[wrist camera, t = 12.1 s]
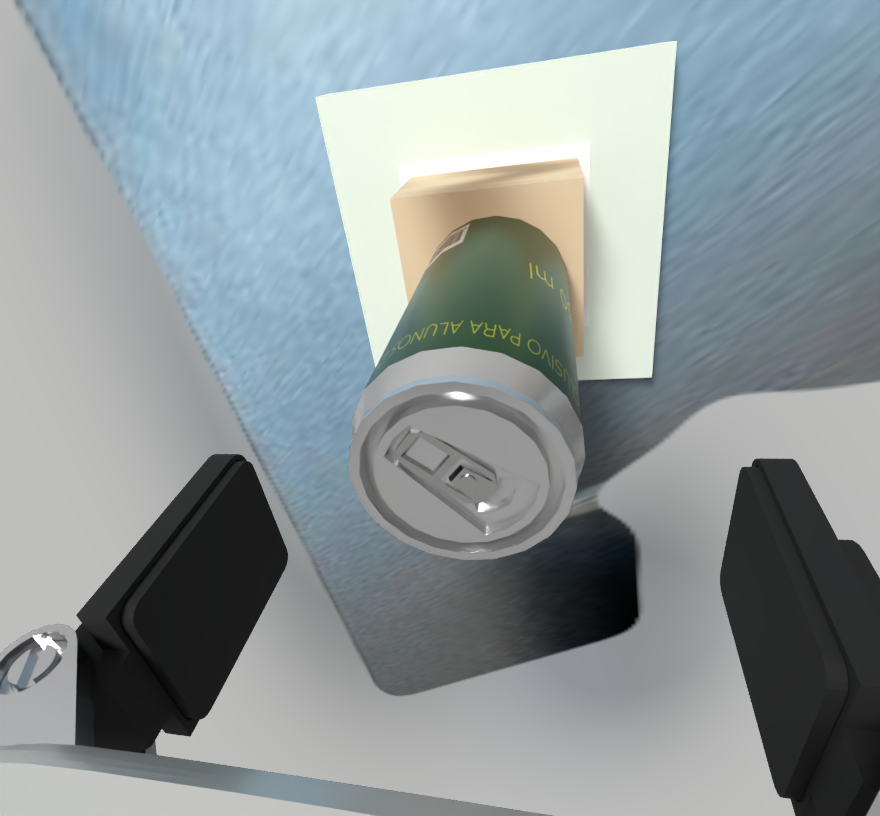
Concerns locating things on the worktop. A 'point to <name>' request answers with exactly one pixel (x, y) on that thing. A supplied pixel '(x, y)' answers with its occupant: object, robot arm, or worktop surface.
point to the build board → (512, 143)
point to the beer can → (475, 400)
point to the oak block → (496, 194)
